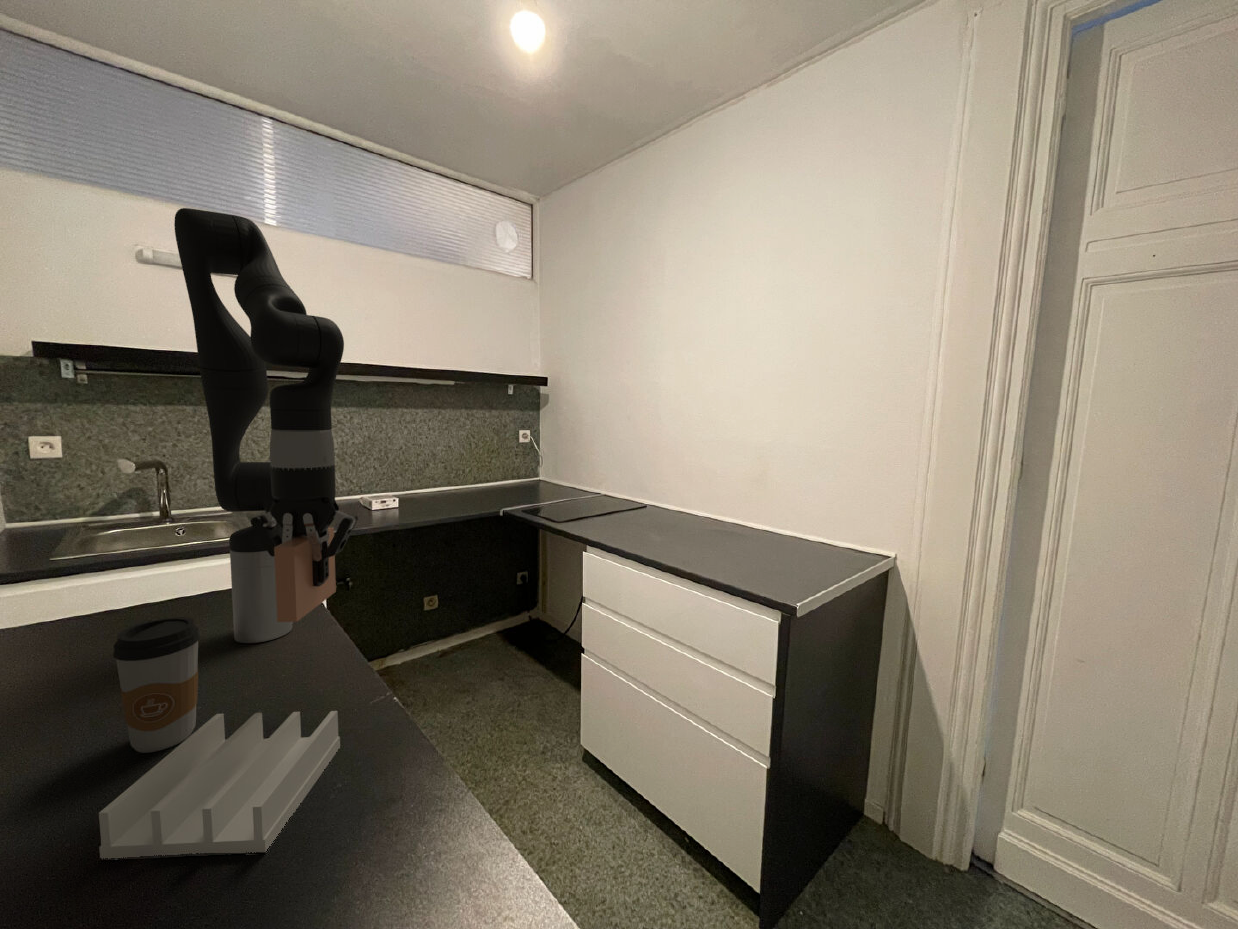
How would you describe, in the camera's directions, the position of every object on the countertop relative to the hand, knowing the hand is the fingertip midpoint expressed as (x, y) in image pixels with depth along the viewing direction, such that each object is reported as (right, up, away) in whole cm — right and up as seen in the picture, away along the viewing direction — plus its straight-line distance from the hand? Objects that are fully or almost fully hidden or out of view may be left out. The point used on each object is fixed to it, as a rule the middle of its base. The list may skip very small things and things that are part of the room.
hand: (307, 584), depth 71 cm
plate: (0, -3, 0) cm, 3 cm away
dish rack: (+1, -21, -14) cm, 25 cm away
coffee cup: (-16, -19, -5) cm, 26 cm away
